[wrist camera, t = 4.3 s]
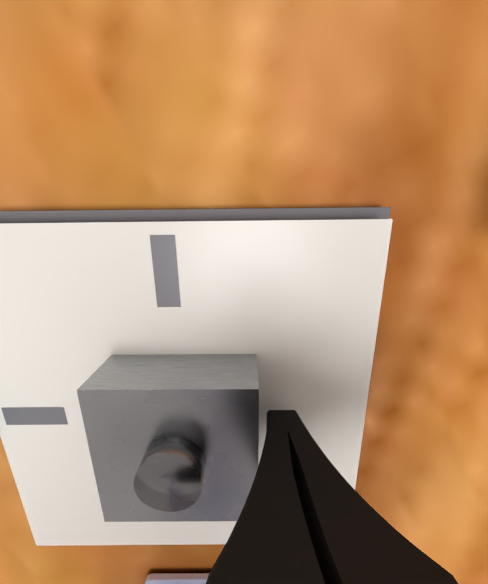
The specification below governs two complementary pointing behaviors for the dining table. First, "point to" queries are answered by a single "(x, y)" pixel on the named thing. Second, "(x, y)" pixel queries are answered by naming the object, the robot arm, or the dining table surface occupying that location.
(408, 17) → the dining table surface
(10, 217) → the susan base
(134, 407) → the cover
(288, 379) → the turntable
